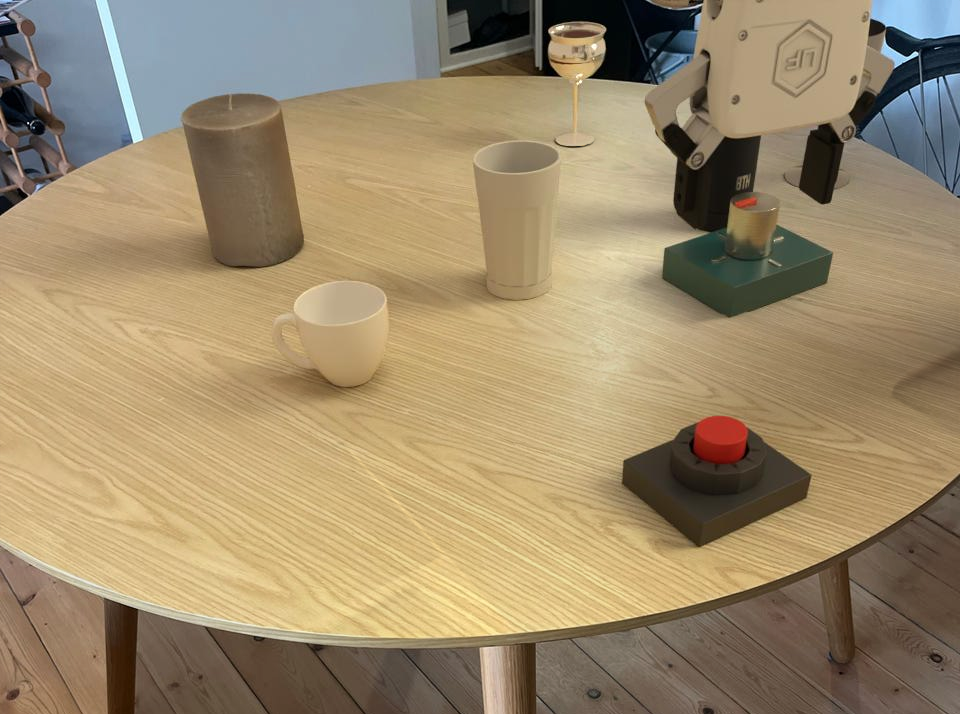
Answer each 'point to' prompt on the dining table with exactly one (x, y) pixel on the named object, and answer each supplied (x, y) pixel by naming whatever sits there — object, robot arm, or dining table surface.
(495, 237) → the cup
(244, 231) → the pillar candle
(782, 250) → the dial panel
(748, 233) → the dial
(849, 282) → the dining table surface
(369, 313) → the cup
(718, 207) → the wine bottle
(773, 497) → the red button base
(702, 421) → the red button
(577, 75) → the wineglass
